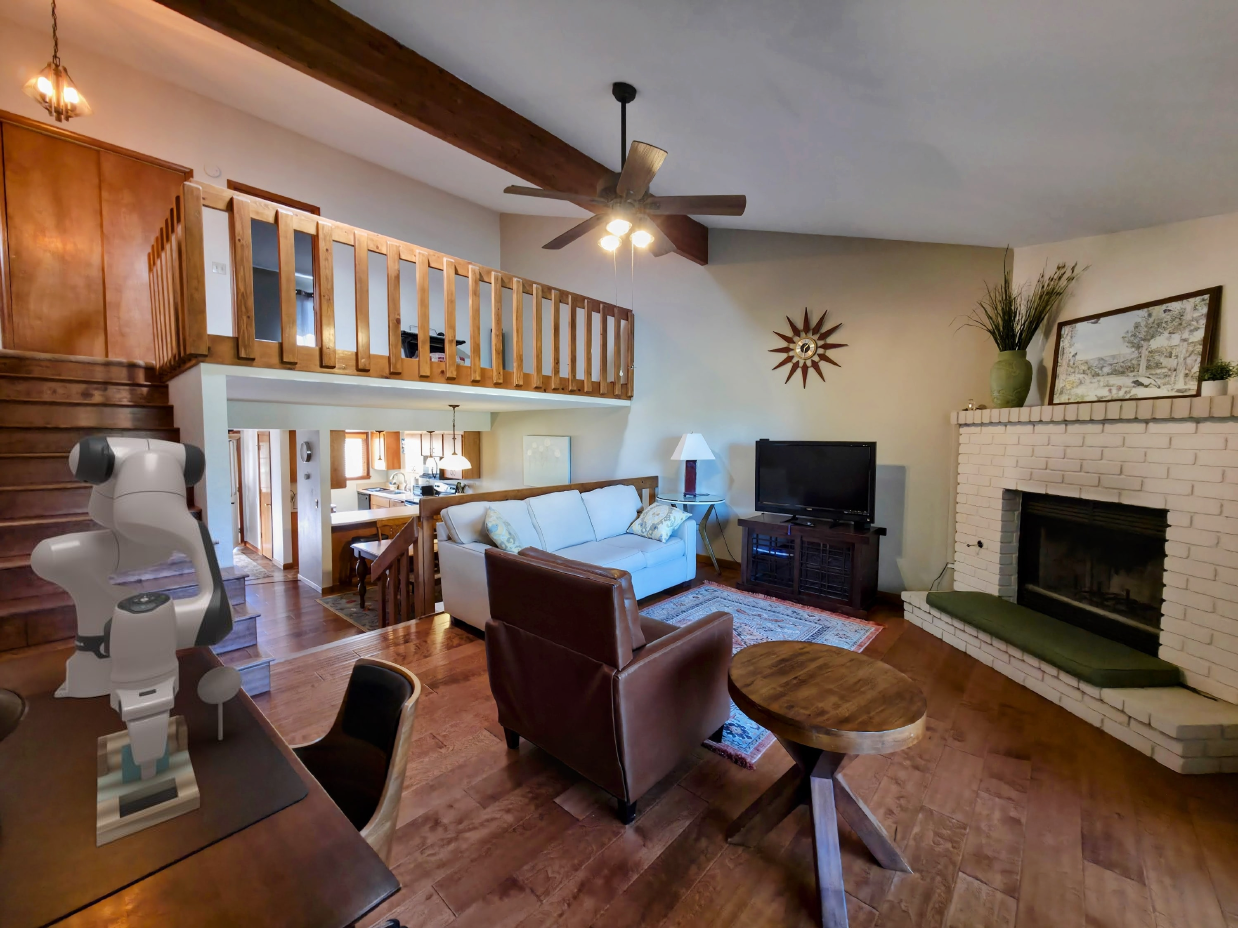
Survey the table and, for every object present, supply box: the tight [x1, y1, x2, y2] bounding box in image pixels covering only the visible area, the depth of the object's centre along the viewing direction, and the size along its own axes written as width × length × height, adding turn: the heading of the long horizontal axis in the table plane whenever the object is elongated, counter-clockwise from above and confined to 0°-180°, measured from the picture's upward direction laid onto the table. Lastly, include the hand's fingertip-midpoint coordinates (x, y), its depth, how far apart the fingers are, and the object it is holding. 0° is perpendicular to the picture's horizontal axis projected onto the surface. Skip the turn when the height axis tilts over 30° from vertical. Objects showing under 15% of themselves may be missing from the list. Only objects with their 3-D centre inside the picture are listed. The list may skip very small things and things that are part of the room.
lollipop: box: [196, 665, 243, 741], centre depth 103 cm, size 7×7×15 cm
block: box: [121, 738, 169, 784], centre depth 90 cm, size 5×6×4 cm
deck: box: [96, 714, 201, 848], centre depth 92 cm, size 35×12×6 cm, turn 46°
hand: (146, 764), depth 89 cm, fingers open, 8 cm apart
